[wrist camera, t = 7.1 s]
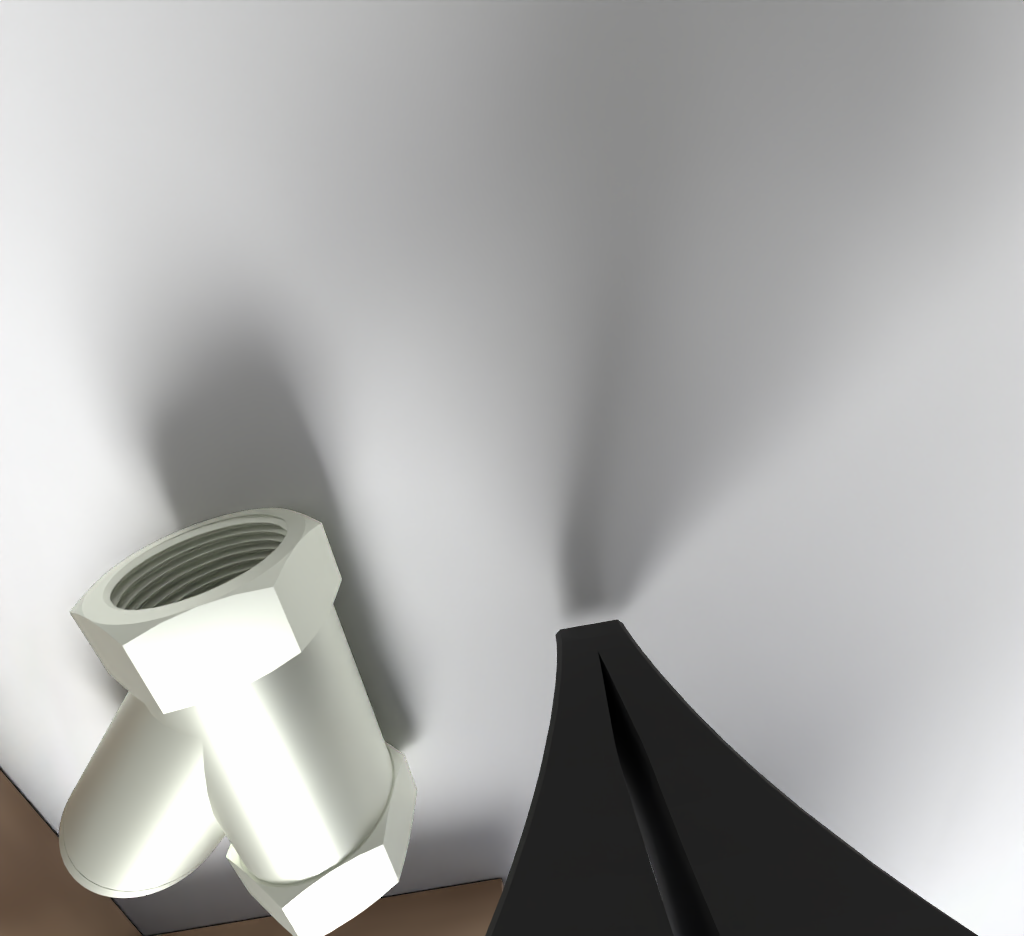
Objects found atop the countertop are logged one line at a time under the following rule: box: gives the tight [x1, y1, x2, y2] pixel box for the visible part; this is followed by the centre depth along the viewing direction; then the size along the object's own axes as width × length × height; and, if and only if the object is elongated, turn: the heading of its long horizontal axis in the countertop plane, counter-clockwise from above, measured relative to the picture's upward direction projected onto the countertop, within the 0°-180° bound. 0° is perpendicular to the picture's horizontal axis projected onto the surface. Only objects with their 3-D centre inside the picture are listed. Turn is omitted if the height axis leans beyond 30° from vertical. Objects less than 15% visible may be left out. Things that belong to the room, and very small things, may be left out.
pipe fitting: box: [59, 508, 417, 936], centre depth 10 cm, size 8×4×7 cm
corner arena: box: [0, 770, 504, 936], centre depth 11 cm, size 16×13×4 cm
